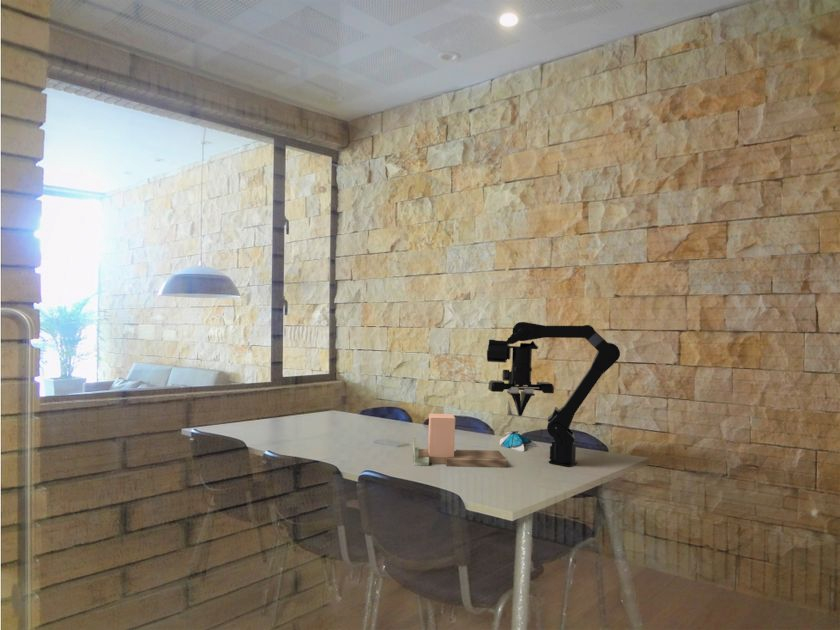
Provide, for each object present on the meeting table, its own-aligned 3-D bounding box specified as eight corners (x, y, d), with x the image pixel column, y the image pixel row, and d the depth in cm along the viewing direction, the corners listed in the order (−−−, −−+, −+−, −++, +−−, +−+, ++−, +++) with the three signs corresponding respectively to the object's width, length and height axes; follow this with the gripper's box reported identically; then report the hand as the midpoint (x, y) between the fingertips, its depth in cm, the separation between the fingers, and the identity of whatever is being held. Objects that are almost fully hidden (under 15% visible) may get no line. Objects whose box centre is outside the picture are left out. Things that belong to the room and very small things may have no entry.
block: (451, 451, 171) (452, 414, 171) (453, 456, 164) (455, 418, 164) (427, 450, 171) (429, 413, 171) (429, 456, 164) (430, 417, 164)
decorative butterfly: (508, 430, 198) (534, 427, 192) (511, 449, 197) (538, 447, 191) (493, 435, 190) (519, 431, 184) (496, 454, 189) (523, 452, 183)
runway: (498, 456, 175) (499, 440, 175) (506, 467, 163) (507, 449, 163) (412, 454, 173) (413, 438, 173) (414, 465, 161) (415, 447, 161)
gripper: (545, 362, 181) (543, 412, 181) (486, 360, 180) (484, 410, 180) (555, 365, 170) (553, 418, 170) (492, 363, 169) (490, 416, 169)
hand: (519, 415), depth 173 cm, fingers closed
